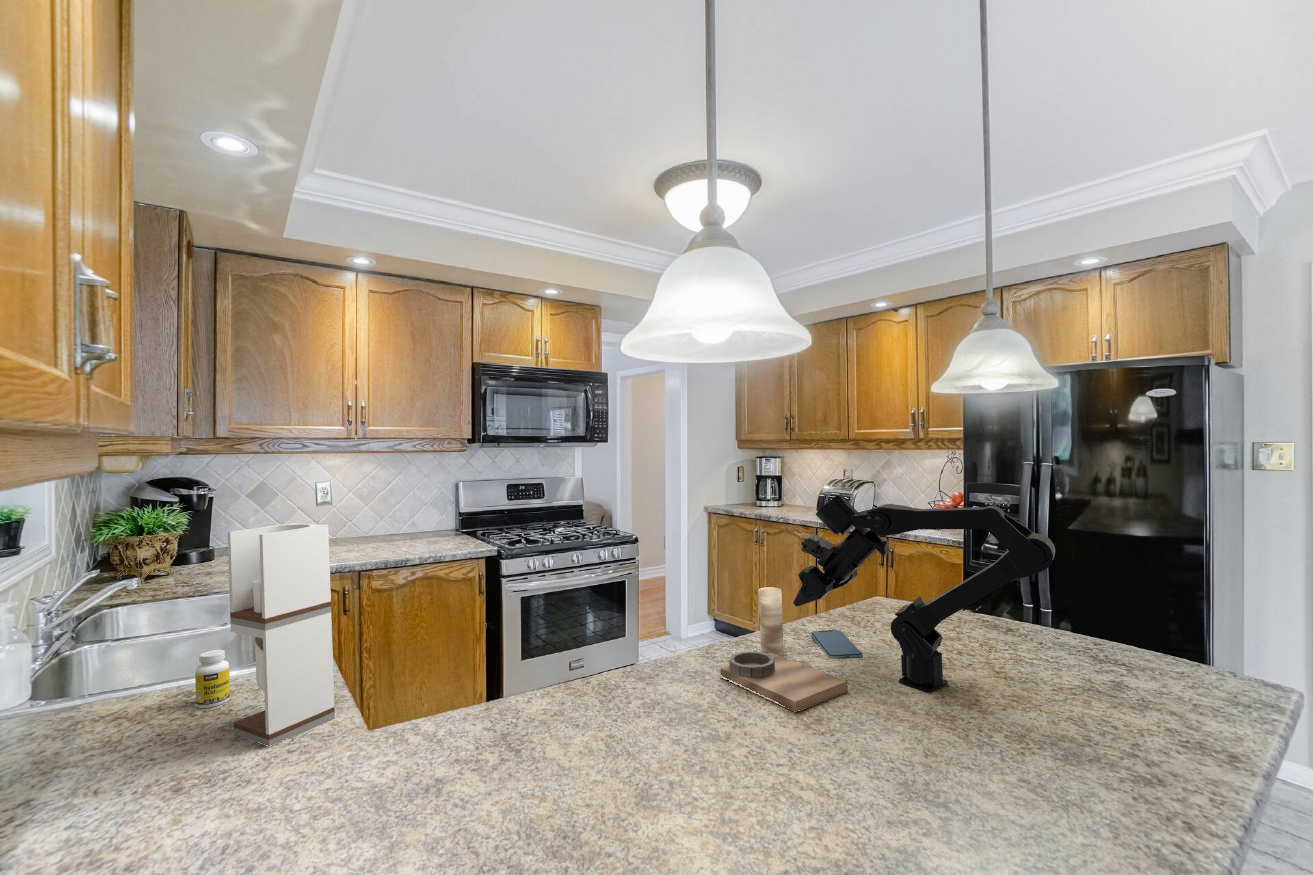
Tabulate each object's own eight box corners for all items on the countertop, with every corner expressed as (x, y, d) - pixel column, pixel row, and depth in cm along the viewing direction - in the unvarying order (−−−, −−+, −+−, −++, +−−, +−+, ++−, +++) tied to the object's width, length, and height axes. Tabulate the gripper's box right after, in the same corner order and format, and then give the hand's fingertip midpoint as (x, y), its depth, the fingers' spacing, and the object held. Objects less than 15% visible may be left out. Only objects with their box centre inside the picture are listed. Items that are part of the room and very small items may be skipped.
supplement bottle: (201, 711, 114) (199, 659, 114) (191, 704, 118) (190, 654, 118) (234, 701, 119) (233, 651, 119) (224, 694, 122) (223, 646, 122)
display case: (299, 707, 115) (293, 522, 115) (334, 717, 110) (328, 524, 110) (234, 734, 105) (227, 532, 105) (269, 747, 100) (262, 534, 100)
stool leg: (788, 653, 134) (786, 590, 134) (772, 658, 131) (769, 594, 131) (772, 647, 138) (769, 586, 138) (756, 652, 135) (753, 589, 135)
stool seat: (847, 691, 113) (846, 670, 113) (795, 713, 105) (794, 689, 105) (770, 661, 129) (769, 642, 129) (720, 677, 122) (719, 658, 122)
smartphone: (829, 655, 130) (809, 630, 145) (829, 662, 130) (809, 637, 145) (864, 653, 130) (841, 629, 145) (864, 661, 130) (841, 636, 145)
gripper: (840, 517, 134) (796, 562, 141) (805, 528, 119) (758, 579, 126) (878, 555, 129) (831, 600, 136) (846, 572, 114) (795, 622, 121)
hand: (804, 599), depth 130 cm, fingers open, 9 cm apart
